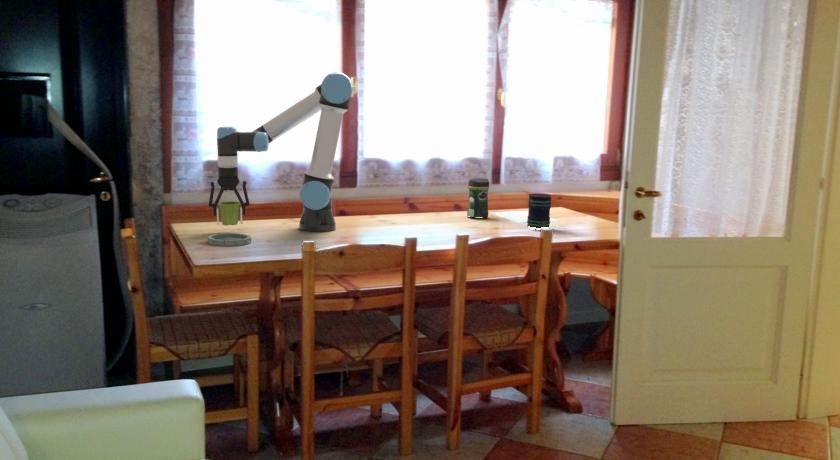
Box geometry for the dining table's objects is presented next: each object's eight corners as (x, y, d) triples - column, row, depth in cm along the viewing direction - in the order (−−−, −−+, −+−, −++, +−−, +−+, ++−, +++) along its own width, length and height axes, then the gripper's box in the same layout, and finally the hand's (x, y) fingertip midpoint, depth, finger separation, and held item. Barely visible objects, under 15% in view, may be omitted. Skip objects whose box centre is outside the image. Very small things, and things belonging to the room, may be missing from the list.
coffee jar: (480, 215, 387) (482, 177, 384) (490, 218, 381) (492, 179, 377) (464, 216, 382) (465, 177, 379) (473, 219, 376) (475, 179, 372)
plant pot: (229, 227, 316) (229, 205, 314) (212, 225, 321) (211, 203, 319) (246, 224, 324) (246, 202, 322) (229, 221, 329) (229, 200, 327)
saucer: (258, 240, 309) (258, 235, 309) (238, 247, 295) (238, 242, 294) (221, 236, 313) (221, 231, 313) (200, 244, 299) (200, 238, 298)
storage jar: (553, 229, 356) (556, 195, 354) (541, 231, 349) (543, 197, 347) (535, 226, 363) (537, 193, 360) (522, 228, 356) (524, 194, 353)
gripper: (254, 165, 324) (256, 221, 328) (200, 166, 319) (202, 222, 323) (255, 167, 317) (257, 224, 321) (199, 167, 312) (202, 226, 316)
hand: (229, 223), depth 322 cm, fingers closed on plant pot, 8 cm apart
